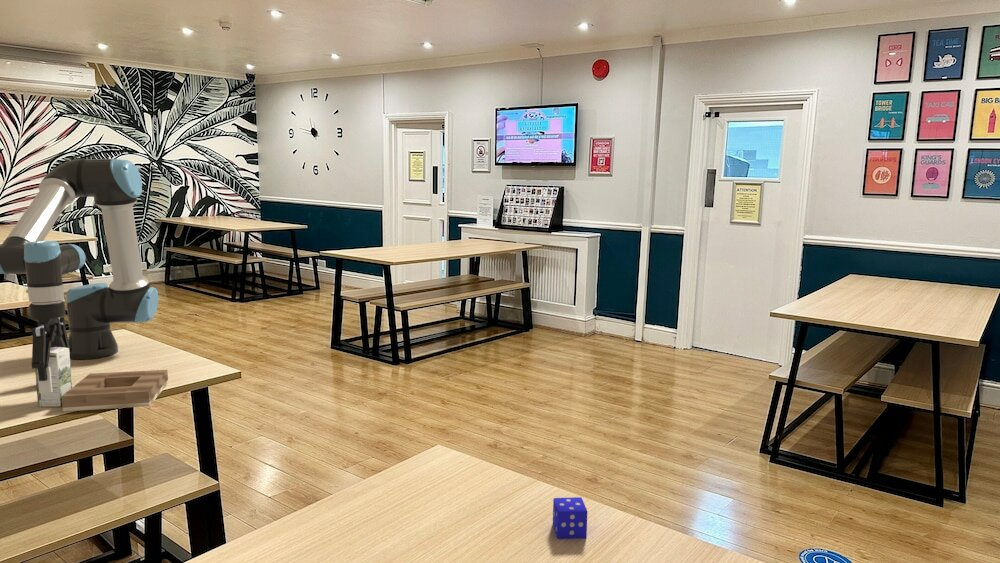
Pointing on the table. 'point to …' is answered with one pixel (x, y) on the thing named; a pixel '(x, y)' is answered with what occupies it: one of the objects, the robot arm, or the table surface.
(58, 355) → the syrup box
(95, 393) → the socket block
